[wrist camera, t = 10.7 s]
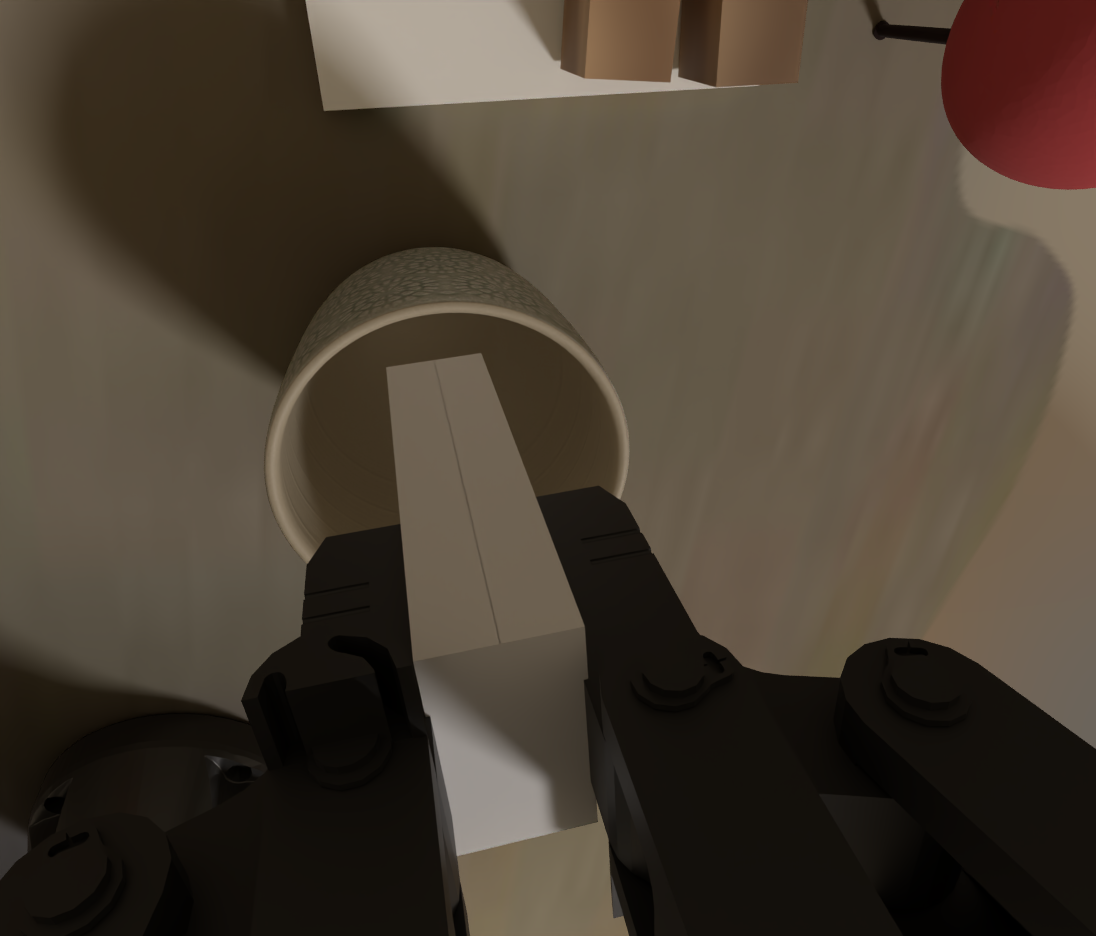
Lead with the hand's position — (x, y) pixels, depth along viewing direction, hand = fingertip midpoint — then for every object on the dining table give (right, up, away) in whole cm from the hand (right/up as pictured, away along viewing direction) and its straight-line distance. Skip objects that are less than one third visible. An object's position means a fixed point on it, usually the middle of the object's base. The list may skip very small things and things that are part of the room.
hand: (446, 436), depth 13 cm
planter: (-4, +5, +23) cm, 24 cm away
